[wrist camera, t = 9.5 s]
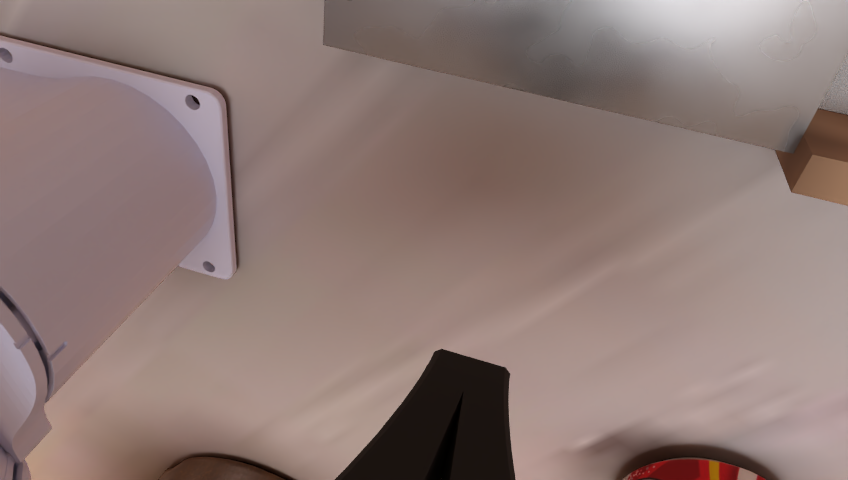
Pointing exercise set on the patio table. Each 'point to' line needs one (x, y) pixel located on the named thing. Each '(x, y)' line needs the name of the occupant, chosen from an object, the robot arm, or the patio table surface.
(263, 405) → the patio table surface
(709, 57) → the grey plate
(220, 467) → the plant pot
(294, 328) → the patio table surface
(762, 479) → the soda can
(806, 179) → the box
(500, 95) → the patio table surface
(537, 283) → the patio table surface
